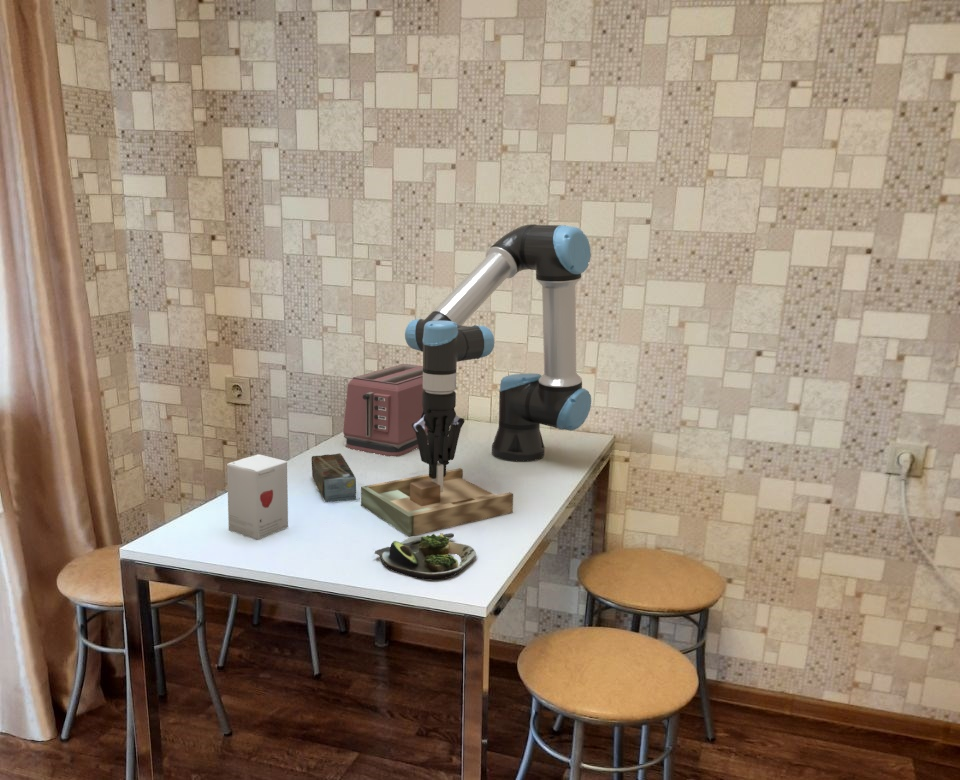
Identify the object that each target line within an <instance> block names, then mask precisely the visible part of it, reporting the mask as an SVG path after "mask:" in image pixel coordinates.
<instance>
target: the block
mask: <svg viewBox="0 0 960 780" xmlns="http://www.w3.org/2000/svg"><path fill="white" fill-rule="evenodd" d="M410 500H411V501H413V502H415V503H416V504H418V505H420V506H425V505H430V504H435V503H439V502H440V485H438V484H436V483H435V482H433V481H431V480H429V479H428V480H423V481H418V482H413V483H410Z"/></svg>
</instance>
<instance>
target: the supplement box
mask: <svg viewBox="0 0 960 780" xmlns="http://www.w3.org/2000/svg"><path fill="white" fill-rule="evenodd" d="M226 470H227V471H226V476H227V479H226V480H227V511H228V512H227V515H228V531H230V532H232V533H233V532H234V533H236V534H239V535H242V536H245V537H248V538H252V539H254V540H256V541H258V540H260V539H264V538H266V537H268V536H270V535H272V534H275V533H278V532H280V531H282V530H285V529H287V527H288V528H289V507H288V506H289V505H288V504H289V501H288V499H289V498H288V496H289V495H288V461H287V460H283V459H279V458H277V457H276V458H275V457H271V456H267V455H263V454H260V453H259V454H258V453H257V454H254V455H251V456H248V457H243V458H240V459H237V460H235V461H231V462H228V463H227V464H226Z"/></svg>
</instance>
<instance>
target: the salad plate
mask: <svg viewBox="0 0 960 780" xmlns="http://www.w3.org/2000/svg"><path fill="white" fill-rule="evenodd" d="M454 537H455V535H454V533H452V532H450V533H440V534H439V535H436V534H435V533H433V534H431V535H428V534H427V535H424V536H422V535H421V536H410V537H407V539H404V540H402V541H401V542H399V541H397V540H393V542H392V543H391V544H390V546H386V547H383V548H380V549H377V550H374V552H373V554H375V555H377V556H379V558H381V561H382V562H383V563H384V565H385V566H386V568H387V569H389V570H390V571H392V572H395V573H397V574H401V575H404V576H406V577H407V576H408V577H412V578H414V579H418V580H419V579H420V580H426V581H428V580H429V581H439V580H443V579H449V578H451V577H454V576H455V575H457V574H459V573H461V572H462V571H463V569H464V568H465V567H467V566H468V565H469V564H470V563H471V562H472V561H473V560H474V558H476V555H477V552H476V550H475V549H474V547H472V546H471V545H467V544H463V543H458V542H454V541H450V540H452V539H453V538H454ZM455 554H457V555H456V556H458V557H459V558H460V562H459V561H458V559H456V558H454V556H453V555H455ZM449 555H451V556H449Z"/></svg>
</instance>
